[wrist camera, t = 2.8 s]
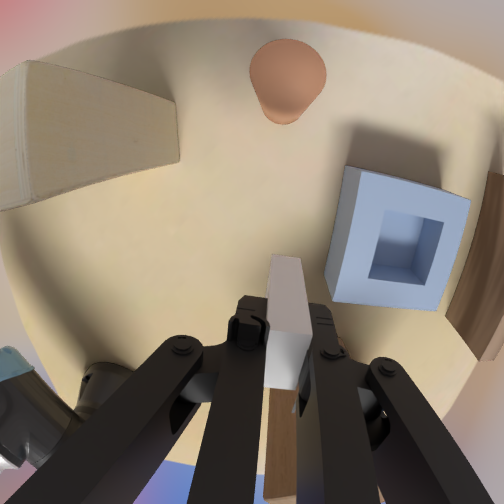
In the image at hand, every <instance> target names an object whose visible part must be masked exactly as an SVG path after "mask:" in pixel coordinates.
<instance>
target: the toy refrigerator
mask: <svg viewBox="0 0 504 504" xmlns="http://www.w3.org/2000/svg"><path fill="white" fill-rule="evenodd" d="M179 161H180V158H179V146H178V133H177V120H176V105H175V103H174V102H172V101H170V100H167V99H164V98H162V97H159V96H156V95H154V94H151V93H148V92H145V91H142V90H139V89H136V88H133V87H130V86H127V85H124V84H121V83H117V82H114V81H111V80H108V79H105V78H102V77H98V76H95V75H92V74H88V73H85V72H81V71H77V70H73V69H69V68H65V67H61V66H57V65H53V64H48V63H44V62H39V61H34V60H27V61H25V62H23V63H21V64H19V65H17V66H15V67H14V68H12V69H11V70H9V71H8V72H6V73H5V74H3V75H2V76H1V77H0V212H1V211H5V210H9V209H13V208H17V207H21V206H25V205H29V204H33V203H36V202H39V201H43V200H46V199H48V198H51V197H54V196H57V195H60V194H63V193H66V192H69V191H72V190H76V189H79V188H82V187H85V186H89V185H92V184H95V183H99V182H102V181H106V180H109V179H113V178H116V177H120V176H124V175H128V174H132V173H136V172H140V171H144V170H149V169H153V168H157V167H161V166H166V165H171V164H175V163H178V162H179Z"/></svg>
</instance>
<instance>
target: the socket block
mask: <svg viewBox="0 0 504 504" xmlns="http://www.w3.org/2000/svg"><path fill="white" fill-rule="evenodd" d="M470 203H471V200H469V199H466V198H464V197H461V196H459V195H456V194H454V193H451V192H448V191H446V190H443V189H440V188H436V187H433V186H429V185H426V184H422V183H419V182H415V181H411V180H407V179H404V178H400V177H396V176H392V175H388V174H383V173H379V172H375V171H370V170H366V169H361V168H356V167H352V166H347V165H345V170H344V176H343V181H342V187H341V193H340V198H339V204H338V209H337V214H336V219H335V224H334V229H333V234H332V239H331V243H330V248H329V253H328V257H327V262H326V266H325V270H324V276H325V280H326V283H327V286H328V289H329V292H330V295H331V298H332V301H334V302H343V303H352V304H361V305H371V306H381V307H392V308H403V309H414V310H427V311H436V310H437V307H438V305H439V303H440V300H441V297H442V295H443V292H444V290H445V287H446V284H447V282H448V279H449V276H450V273H451V270H452V267H453V264H454V261H455V258H456V255H457V252H458V249H459V245H460V242H461V239H462V235H463V231H464V228H465V224H466V220H467V216H468V212H469V208H470Z"/></svg>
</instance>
